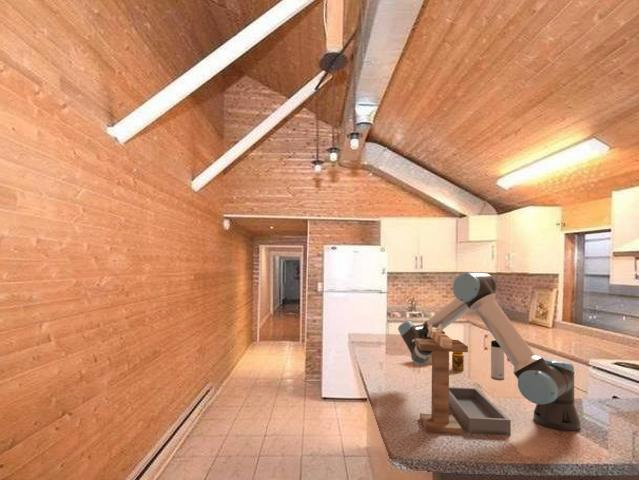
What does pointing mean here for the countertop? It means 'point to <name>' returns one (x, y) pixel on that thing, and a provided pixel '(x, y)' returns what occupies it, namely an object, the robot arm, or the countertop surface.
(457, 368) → the condiment
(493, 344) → the travel mug
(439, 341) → the ash bar
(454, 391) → the tray
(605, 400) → the countertop surface
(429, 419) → the shelf stand
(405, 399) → the countertop surface
